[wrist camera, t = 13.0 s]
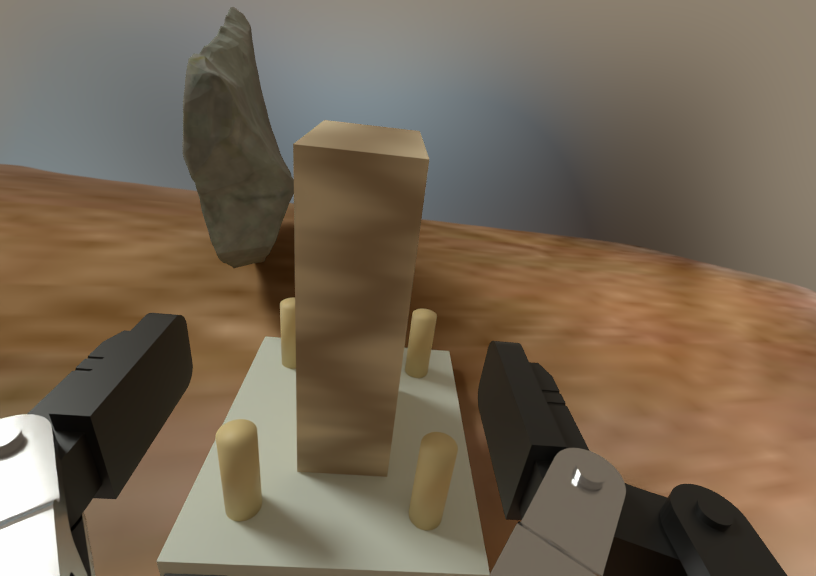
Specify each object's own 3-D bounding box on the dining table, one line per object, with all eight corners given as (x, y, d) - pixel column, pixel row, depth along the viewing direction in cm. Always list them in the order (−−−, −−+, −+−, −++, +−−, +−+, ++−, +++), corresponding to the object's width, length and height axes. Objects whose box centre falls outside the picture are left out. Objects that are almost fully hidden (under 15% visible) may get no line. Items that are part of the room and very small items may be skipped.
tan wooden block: (297, 471, 19) (293, 143, 12) (319, 382, 24) (324, 120, 18) (387, 476, 19) (429, 159, 13) (389, 387, 24) (419, 131, 18)
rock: (301, 335, 30) (300, -4, 21) (203, 343, 28) (154, -29, 19) (278, 212, 52) (273, 21, 43) (223, 212, 50) (204, 11, 41)
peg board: (161, 580, 16) (135, 485, 13) (266, 351, 28) (262, 281, 26) (483, 592, 16) (514, 506, 14) (446, 365, 29) (459, 298, 26)
